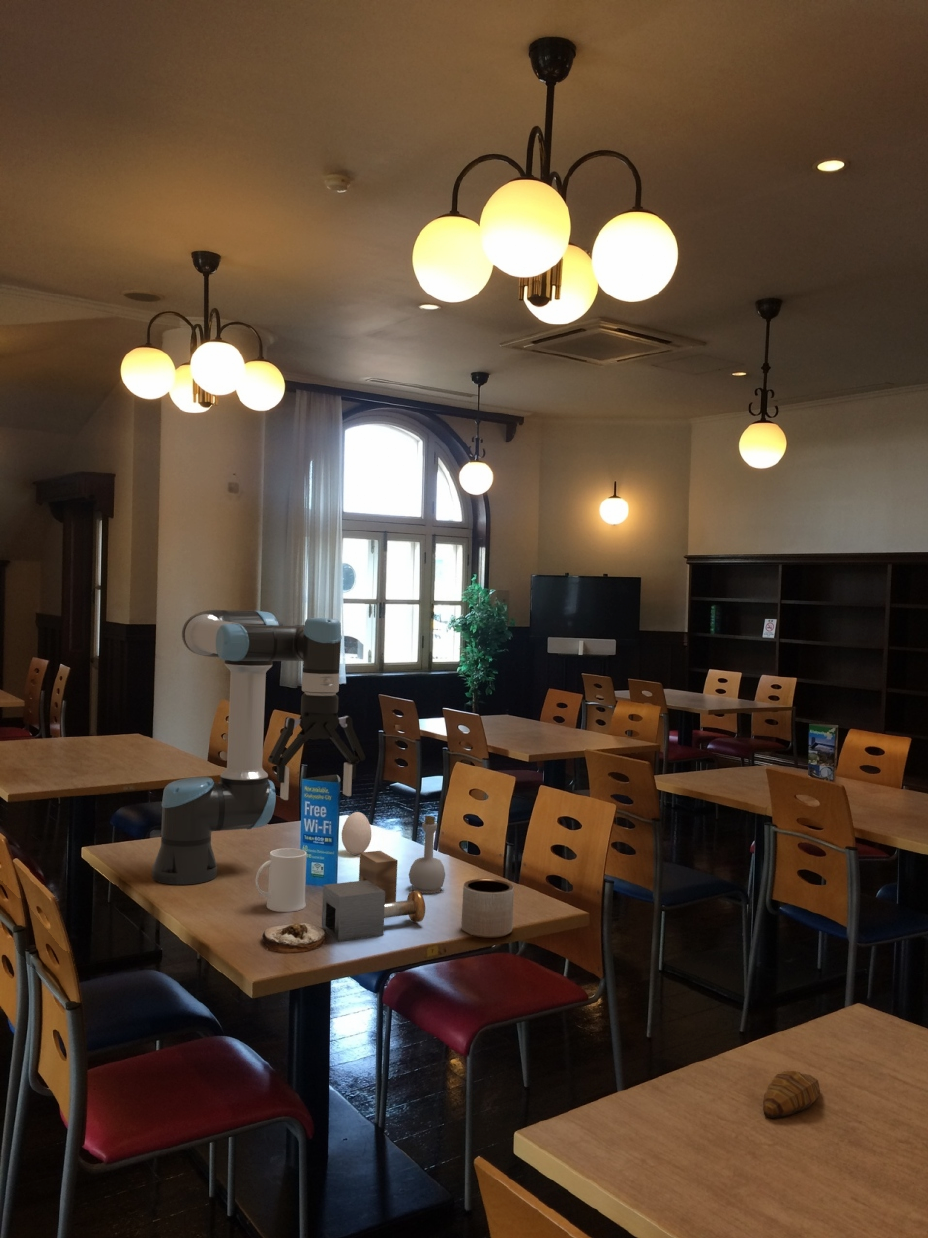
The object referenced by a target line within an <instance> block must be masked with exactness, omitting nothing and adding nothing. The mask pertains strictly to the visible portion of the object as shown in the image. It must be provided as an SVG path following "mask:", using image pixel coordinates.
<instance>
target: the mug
mask: <svg viewBox="0 0 928 1238" xmlns="http://www.w3.org/2000/svg"><path fill="white" fill-rule="evenodd" d="M307 854H308V852H307V851H305V850H303V849H301V848H300V849H299V848H290V847H287V848H285V847H283V848H277V849H274V850H271V851H270V852H269V860H267V861H265V862H264V863H263V864H261V865H260V867H259V868H258V870H257V872H256V874H255V881H254V882H255V887H256V890H257V891H258V892H259V894H260V895H262V896H264V897H265V898H267V902H266V908H267V909H268V910H270V911H273V912H277V913H278V912H279V913H292V912H298V911H301V910H304V909H305V908H306V905H307V904H306V878H307V877H306V874H307ZM268 866H269V868H268V889H267V890H268V891H264V890H262V889H261V888H260V885H259V877H260V874H261V872H262V871H263V870H264V869H265V868H266V867H268Z"/></svg>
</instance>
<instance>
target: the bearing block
mask: <svg viewBox="0 0 928 1238" xmlns="http://www.w3.org/2000/svg"><path fill="white" fill-rule="evenodd" d="M321 909H322V911H321V914H322V915H321V929H323V930H324V931H325V933H327V934H328V935H330V936H331V937H332V938H333V939H334V940H336V942H338V943H339V942H346V941H351V940H359V939H365V938H366V939H367V938H372V937H373V938H374V937H379V936H381V937H382V936H384V933H385V932H384V931H385V930H384V927H385V918H384V910H385V891H384V890H382V889H380V888H379V887H377V886H376V885H374V884H373V883H371V882H370V881H368V880H364V881H359V880H357V881H345V882H338V883H329V884H323V885H322V907H321Z"/></svg>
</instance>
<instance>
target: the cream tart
mask: <svg viewBox="0 0 928 1238" xmlns="http://www.w3.org/2000/svg"><path fill="white" fill-rule="evenodd" d="M261 938H262V941H263V945H265V946H266V947H267V948H266V951H269V950H270V951H275V952H277V953H301V952H302V953H305V952H307V951H314V950H315V949H318V948H320V947H323V946H324V945H325V940H326V939H325V938H326V931H325V930H324V929H322V927H321V926H318V925H314V924H311V923H306V922H304V923H303V922H300V923H299V922H295V923H289V924H279V925H273V926H269V927H267V928H265V931H264V932H263V933H262V937H261Z"/></svg>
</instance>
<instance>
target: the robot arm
mask: <svg viewBox="0 0 928 1238" xmlns="http://www.w3.org/2000/svg"><path fill="white" fill-rule="evenodd" d="M342 638H343V637H342V625H341V622H340V620H339V619H336V618H326V617H325V618H323V617H322V618H321V617H309V618H307V619H305V621H304V624H295V625H288V624H287V625H281V624H279V622H278V619H277V618H276V616H275V615H274V614H273V613H271V612H269V611H261V610H234V609H209V610H208V609H207V610H203V611H200V612H198V613H195V614H193V615H190V617H189V618H188V619H186V620H185V622H184V623H183V626H182V629H181V640H182V642H183V644H184V645H185V647H186V648H187V650H189V651H190V652H191V653H193V654H196V655H200V656H204V657H208V658H219V659H220V660H221V661H224V666H225V667H226V668H227V669H228V670H229V672H230V676H229V677H230V679H229V680H230V681H229V682H230V684H229V708H228V709H229V711H228V727H227V728H228V731H227V732H228V733H227V755H226V756H227V758H226V761H227V762H226V768H225V769H224V770H223V771H222V772H221V773H220V774H219V775H220V776H219V779H220V780H219V782H214V780H213V778H212V777H209V776H193V777H186V778H180V779H178V780H173V781H171V782H169V783H167V785H166V786H165V787H164V789H163V793H162V794H163V795H162V801H161V808H162V810H161V811H162V812H161V814H162V815H161V830H160V831H161V835H160V838H161V839H160V847H159V848H158V852H157V855H156V858H155V860H154V863H153V865H152V871H151V872H152V873H151V878H152V880H153V881H155V882H157V883H161V884H167V885H176V886H177V885H178V886H179V885H182V886H183V885H194V884H195V885H197V884H201V883H202V884H203V883H206V882H210V881H212V880H214V879H215V878H217V876H218V865H217V861H216V858H215V854H214V850H213V847H212V832H220V831H222V832H223V831H232V830H233V831H235V830H252V829H256V828H263V827H265V826H267V824H269V822H270V821H271V819H272V817H273V814H274V811H275V807H276V797H277V795H276V788H275V784H274V782H273V781H272V780H270V779H269V774H268V772H266V771H265V770H264V768H263V757H264V756H263V753H264V752H263V751H264V728H265V706H266V705H265V703H266V681H267V680H266V679H267V678H266V677H267V674H266V673H267V672H268V671H269V670H270V669H271V668H272V667H273V662H302V677H301V691H302V692H304V693H303V694H302V695H301V699H300V700H301V701H300V702H301V703H300V716H299V718H293V717H290V716H286V717H285V719H284V726H283V729H282V731H281V733H280V735H279V737H278V738H277V740H276V743H274V746H273V748H272V751H271V753H270V755H269V756H268V759H267V761H268V763H270V764H272V765H273V766H276V782H277V783H278V784H280V792H279V795H280V796H279V797H280V799H282V800H284V801H288V800H289V790H290V789H289V788H290V787H289V786H290V784H289V783H290V766H287V765H288V763H290V761H291V760H292V759H293V757H294V756H295V755H296V754H297V752H298V751H300V749H301V748H302V746H304V744H305V743H306V742H308V741H309V739H310V740H319V739H320V740H321V739H322V740H328V739H330V740H331V741H332V743H334V745H335V747H336V748H337V749H338V750H339V751H340V754H342V755H343V756H344V758H345V759H346V760H347V761H348V762H344V763H343V776H342V777H343V778H342V779H343V781H342V785H343V786H342V794H343V795H345V796H347V797H351V796H352V786H353V785H352V782H353V781H352V780H356V776H357V765H358V764H360V763H359V762H361V761H362V762H364V761H365V759H366V755H365V753H364V751H363V748H362V746H361V744H360V740H359V739H358V737H357V734H356V732H355V729H354V726H353V725H354V724H353V718H352V717H351V716H349V715H343V716H342V717H339V716H338V713H339V712H338V711H339V696H338V695H337V693H338V692H339V689H340V688H339V687H340V665H341V647H342ZM339 725H340V727H342V728H343V731H344V733H345V736H346V738H347V740H348V742H349V744H350V747H351V749H352V751H351V750H350V749H349V747H348V745H346V743H345V742H344V741H343V739H342V738H341V737H340V735H339V734H338V732H337V730H336V729H337V727H338V726H339ZM297 726H299V727H300V728H301V730H300V731H299V732H298V734H297V735H296V737H295V738H294V739H293V741H292V742H291V743H290V744H289V745H288V742H289V741H290V739H291V737H292V734H293V733H294V729H296V728H297ZM287 745H288V747H287ZM286 747H287V748H286ZM285 748H286V749H285ZM353 753H354V754H353Z"/></svg>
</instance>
